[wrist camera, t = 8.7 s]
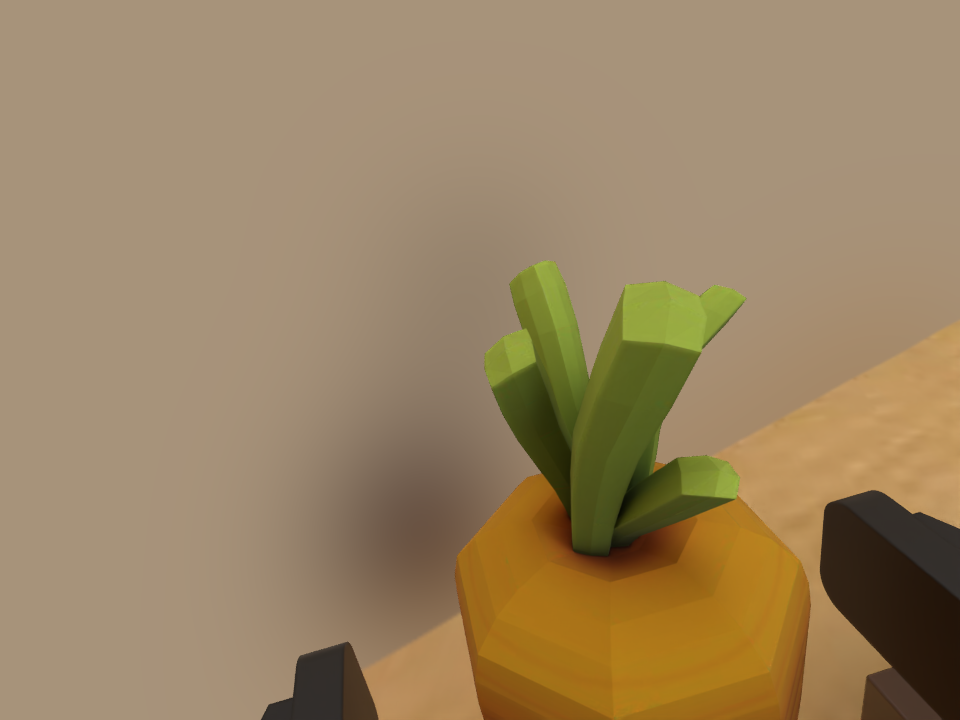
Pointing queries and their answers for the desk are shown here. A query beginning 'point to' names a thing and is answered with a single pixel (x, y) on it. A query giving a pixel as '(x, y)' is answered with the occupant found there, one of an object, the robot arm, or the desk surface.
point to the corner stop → (893, 699)
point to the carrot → (623, 533)
